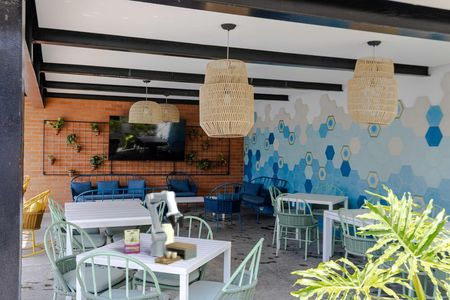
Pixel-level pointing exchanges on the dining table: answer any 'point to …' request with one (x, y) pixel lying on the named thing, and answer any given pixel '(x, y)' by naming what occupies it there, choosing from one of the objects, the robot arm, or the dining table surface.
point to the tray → (166, 261)
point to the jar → (168, 233)
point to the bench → (187, 253)
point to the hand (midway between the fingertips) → (178, 227)
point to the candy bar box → (132, 241)
